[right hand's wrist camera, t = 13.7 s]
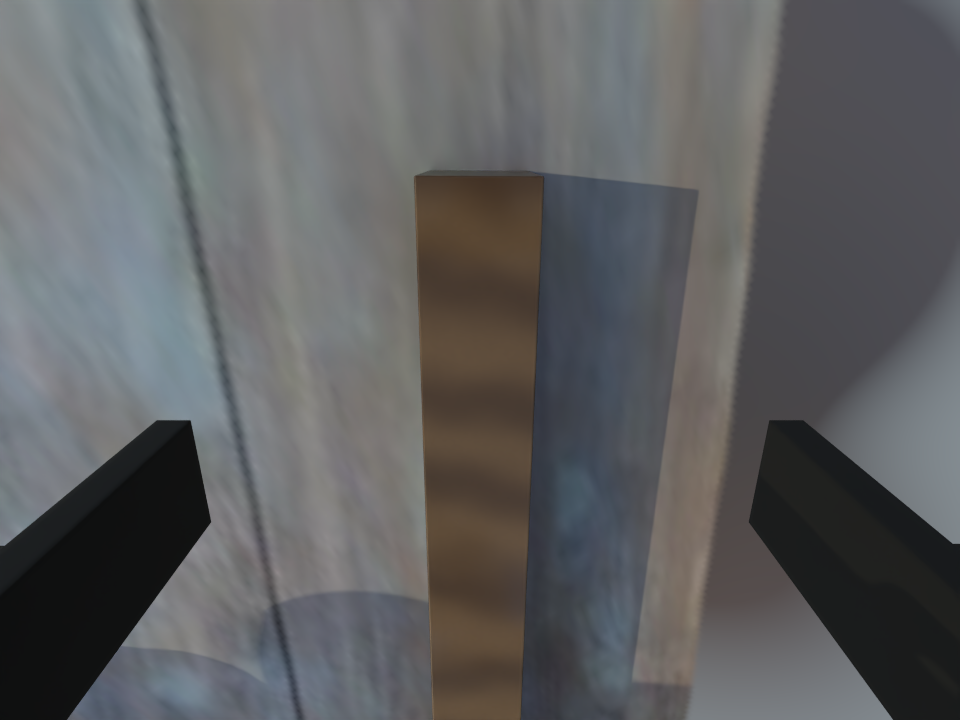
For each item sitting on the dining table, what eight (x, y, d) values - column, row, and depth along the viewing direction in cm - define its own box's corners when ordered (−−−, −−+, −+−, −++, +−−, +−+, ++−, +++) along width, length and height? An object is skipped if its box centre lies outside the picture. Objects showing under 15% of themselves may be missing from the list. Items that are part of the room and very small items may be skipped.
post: (428, 170, 31) (413, 175, 24) (529, 171, 31) (544, 176, 24) (447, 893, 54) (442, 1004, 47) (504, 893, 54) (508, 1004, 47)
